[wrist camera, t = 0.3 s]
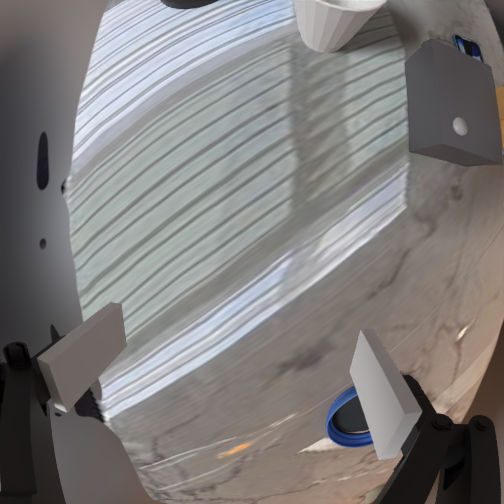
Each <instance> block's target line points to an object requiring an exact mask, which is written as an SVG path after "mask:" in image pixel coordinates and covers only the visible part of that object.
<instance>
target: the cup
mask: <svg viewBox="0 0 504 504" xmlns="http://www.w3.org/2000/svg"><path fill="white" fill-rule="evenodd" d="M386 2H387V0H294V5H295V11H296V16H297V22H298V28H299V31H300V33H301V37H302V40H303V42H304V43H305V44H306V45H307V46H308V47H309V48H311V49H313V50H315V51H317V52H321V53H332V52H335V51H337V50H339V49H340V48H341V47H342V46H344V45H345V44H346V43H347V42H349V40H350V39H351V38H352V37H353V36H354V35H355V34H356V33H357V32H358V31H359V30H360V28H361V27H362V26H363V25H364V24H365V23H366V22H367V21H368V20H369V19H370V18H371V17H372V16H373V15H374V14H375V13H376V12H377V11H378V9H379V8H381V7H382V6H383V5H384V4H386Z"/></svg>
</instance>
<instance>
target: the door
mask: <svg viewBox="0 0 504 504" xmlns="http://www.w3.org/2000/svg"><path fill="white" fill-rule="evenodd" d="M495 91H496V97H497V103H498V111H499V120H500V130H501V146H502V157H503V156H504V85H503V86H501V87H498V88H496V89H495Z"/></svg>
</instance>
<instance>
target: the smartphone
mask: <svg viewBox="0 0 504 504" xmlns="http://www.w3.org/2000/svg"><path fill="white" fill-rule="evenodd" d="M452 38H453V41H454V44H455V46H456V47H457V49H458V50H459V51H461V52H463V53H465V54H467V55H469V56H471V57H473V58H475V59H477V60H479V61H481V62H483V63H484V60H483V56H482V53H481V50H480V47H479V45H478V44H477V43H476V42H474V41H472V40H469V39H467V38H465V37H462V36H460V35H457V34H454V35H453V36H452Z"/></svg>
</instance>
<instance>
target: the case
mask: <svg viewBox="0 0 504 504" xmlns="http://www.w3.org/2000/svg"><path fill="white" fill-rule="evenodd" d="M404 64H405V73H406V83H407V96H408V114H409V152H412V153H416V154H421V155H425V156H429V157H433V158H437V159H441V160H444V161H448V162H452V163H455V164H459V165H462V166H479V165H496V164H502V146H501V130H500V120H499V111H498V103H497V97H496V91H495V85H494V80H493V75H492V70H491V67H490V66H488V65H487V64H485V63H483V62H481V61H479V60H477V59H475V58H473V57H471V56H469V55H467V54H465V53H463V52H461V51H459V50H458V49H457V47H456V46H455V45H454V44H452V43H451V42H448V41H446V40H441V39H431V38H430V39H429V40H427V41H425V42H423V44H422V45H421V48H420V49H419V50H417V51H416V52H415V53H414V54H413V55H412V56H411V57H410V58H409V59H408V60H407V61H406V62H405V63H404Z"/></svg>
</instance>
